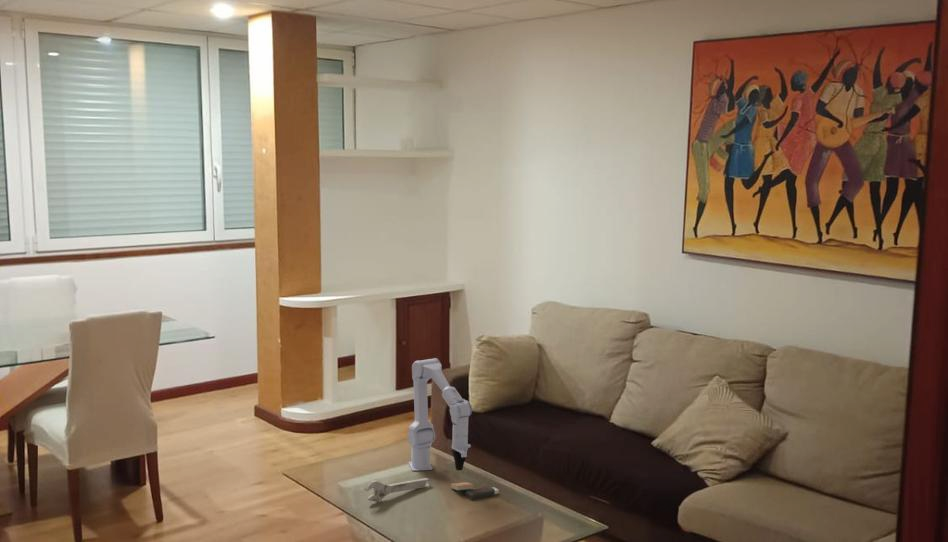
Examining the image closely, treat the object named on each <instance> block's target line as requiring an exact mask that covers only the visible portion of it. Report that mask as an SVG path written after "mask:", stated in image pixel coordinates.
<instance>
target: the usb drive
mask: <svg viewBox="0 0 948 542" xmlns="http://www.w3.org/2000/svg"><path fill="white" fill-rule="evenodd" d="M497 493H499V494H500V490H499V489H498V488H496V487H494V486H493V487H492V486H490V485H489V486H484V487H483V486H482V487H479V488H478V487H477V488H473V489H467V490H465V492H464V496H465V497H466V498H467V499H469V500H470V501H477V500H482V499H486V498H487V497H488V498H491V497H490V496H492V497H494V496H496V495H495V494H497ZM493 495H494V496H493ZM497 495H498V494H497Z"/></svg>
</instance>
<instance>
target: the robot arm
mask: <svg viewBox="0 0 948 542" xmlns="http://www.w3.org/2000/svg"><path fill="white" fill-rule="evenodd" d="M442 367H443V366H442V363H441V361H440V360H439V358H437V357H433V358H428V359H423V360H415V361H414V362H413V363H412V365H411V377H412V380H413V403H414V404H413V405H414V409H413V410H414V421H413V422H412V423H411V424H410V425H409V426H408V434H407V441H408V443H409V444H410V446H411V449H410V450H411V451H410V453H411V454H410V455H411V458H410V459H411V460H410V461H408V465H409V467H410V468H411V470H412V471H413V472H416V471H417V472H418V471H432V470H433V466H432V465H431V446H432V445H433V443H434V442H435V440H436V432H435V430H434V424H433V423H432V422H430V421H429V409H428V407H429V405H428V404H429V403H428V402H429V401H428V400H429V399H428V381H429V380H431V379H432V381H433V382H434V383H435V384H436V385H437V387H438V388H439V389H440V390H441V392H442V393H441V397H442V399H443V400H444V401H445V402H446V404H447V406H448V407H449V414H450V419H451V423H452V432H451V433H452V437H451V439H452V442H451V453H452V456H453V460H454V465H455V470H456V471H462V470H463V469H464V465H465V461H466V459H467V458H468V455H469V452H468V449H469V448H471V446H472V445H471V444H470V443H468V442H469V441H468V440H469V437H468V436H469V417H470V416H471V415H472V413H473V407H472V405H471V403H470V401H468V400H466V399H465V398H462V396H461V394H460V393H459V392H458V390H457V389H456V387H455V386H451V385H450V383H449V382H448V380H447V378H446V377H445V375H444V373H443V368H442Z"/></svg>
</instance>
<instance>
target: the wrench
mask: <svg viewBox="0 0 948 542" xmlns="http://www.w3.org/2000/svg"><path fill="white" fill-rule="evenodd" d="M431 483H432V482H431V479H429V478H427V477H424V478H418V479H413V480H407V481H401V482H395V483H389V484H387V483H382V482H380V481H378V480H375V479H372V480H370V481H369V482H367V484H366V485H365V487H364V490H365V491H366V492H368V491H370V490H371V489H373V493H372V494H370V495H369V496H368V497H366V499H367V500H368V501H370V502H377V503H381V502H382V501H383V499H384V498H385V497H386V496H388V495H389V494H393V493H399V492H405V491H411V490H417V489H422V488H428V487H430V485H431Z"/></svg>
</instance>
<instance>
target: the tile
mask: <svg viewBox="0 0 948 542" xmlns="http://www.w3.org/2000/svg"><path fill="white" fill-rule="evenodd" d="M450 488H451V489H453V490H456V491H464V490H465V491H466V490H473V489H474V483H471V482H466V481H465V482H458V483H457V482H456V483H450Z"/></svg>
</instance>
